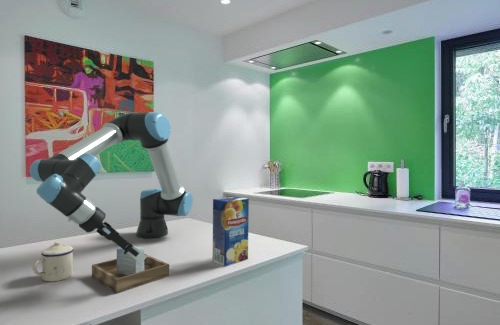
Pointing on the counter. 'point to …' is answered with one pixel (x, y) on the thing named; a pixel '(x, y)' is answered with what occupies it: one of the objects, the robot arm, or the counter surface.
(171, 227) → the counter surface
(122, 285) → the tray
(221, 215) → the juice carton
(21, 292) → the counter surface
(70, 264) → the teacup with lid
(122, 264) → the medicine box
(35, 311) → the counter surface
